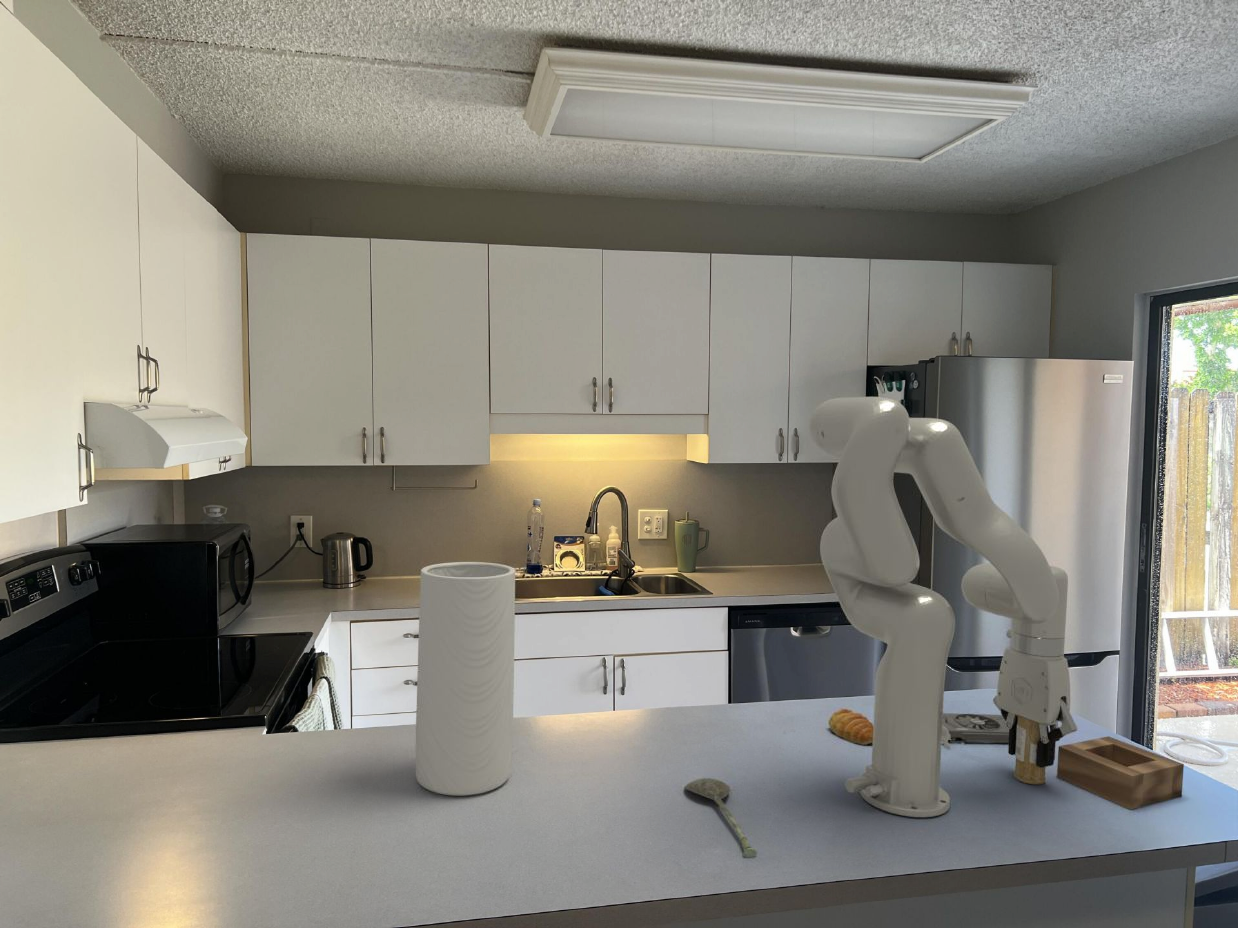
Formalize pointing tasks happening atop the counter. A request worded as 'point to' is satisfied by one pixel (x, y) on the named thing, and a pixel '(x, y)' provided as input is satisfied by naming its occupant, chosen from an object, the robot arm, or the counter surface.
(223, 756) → the counter surface
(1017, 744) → the sprinkles bottle
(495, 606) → the vase
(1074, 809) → the counter surface
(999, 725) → the graphics card
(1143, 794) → the walnut holder
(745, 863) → the counter surface
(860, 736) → the pastry
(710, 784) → the soupspoon
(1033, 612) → the robot arm
